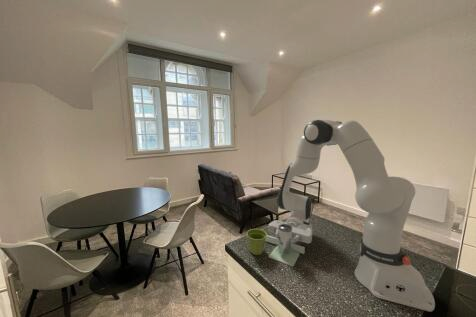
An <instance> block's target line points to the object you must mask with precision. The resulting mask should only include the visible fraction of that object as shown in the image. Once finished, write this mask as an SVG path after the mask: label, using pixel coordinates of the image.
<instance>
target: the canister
mask: <svg viewBox="0 0 476 317" xmlns="http://www.w3.org/2000/svg"><path fill="white" fill-rule="evenodd" d="M291 237H292V227H291V226H290V225H287V224H281V225H279V237H278V245H277V246H278V251H279V252H280V253H282V254H289V253H290V252H291V243H292V242H290V241H291V240H290V239H291Z"/></svg>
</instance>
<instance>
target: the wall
mask: <svg viewBox="0 0 476 317" xmlns="http://www.w3.org/2000/svg"><path fill="white" fill-rule="evenodd" d="M265 242H268V243H270V244H273V245H276V246H278V238H276V237H275V236H271V235H268V234H267V237H266V239H265ZM291 250H292V251H295V252H298V253H300V254H302V255H305V252H306V250H305V246H303V245H300V244H296V243H295V242H294V243H292V242H291Z"/></svg>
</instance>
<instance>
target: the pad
mask: <svg viewBox="0 0 476 317" xmlns="http://www.w3.org/2000/svg"><path fill="white" fill-rule="evenodd" d="M300 254H301V253H299V252H296V251H294V250H291V252H290V253H289V254H282V253H280V252H279V251H278V245H276V246H275V248H274V249H273V250H272V251H271V253H270V254H269V255H268V258H269V259H271V260H274V261H277V262H280V263H282V264H285V265H288V266H289V267H294V265H295V264H296V262H297V260H298V258H299V256H300Z"/></svg>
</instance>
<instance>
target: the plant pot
mask: <svg viewBox="0 0 476 317" xmlns="http://www.w3.org/2000/svg"><path fill="white" fill-rule="evenodd" d="M267 235H268V233H267V232H266V231H265V230H263V229H260V228H251V229H249V230H247V232H246V237H247V239H248V247H249V252H250V253H251V254H252V255H255V256H260V255H262V254H263V253H264V247H265V243H266V241H265V239H266V237H267Z"/></svg>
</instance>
